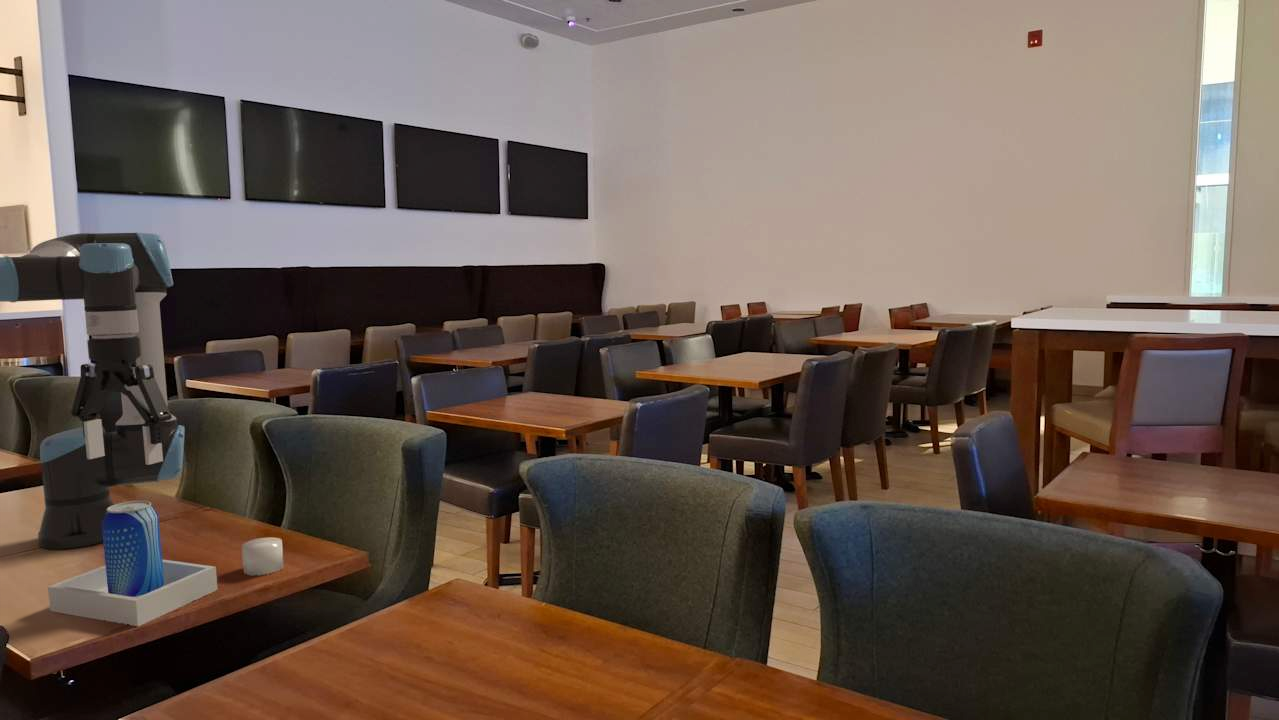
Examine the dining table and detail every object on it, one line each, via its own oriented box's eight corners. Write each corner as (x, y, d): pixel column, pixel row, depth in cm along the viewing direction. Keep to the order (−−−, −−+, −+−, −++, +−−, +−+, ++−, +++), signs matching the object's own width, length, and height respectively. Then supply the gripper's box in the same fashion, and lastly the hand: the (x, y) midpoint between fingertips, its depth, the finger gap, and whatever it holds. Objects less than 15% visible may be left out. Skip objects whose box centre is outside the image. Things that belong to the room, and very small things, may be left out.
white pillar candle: (235, 573, 162) (233, 547, 162) (263, 560, 169) (261, 535, 168) (264, 577, 160) (262, 551, 159) (291, 564, 166) (290, 539, 166)
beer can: (97, 604, 146) (88, 512, 145) (134, 585, 155) (126, 498, 153) (140, 606, 145) (132, 514, 143) (176, 587, 153) (168, 499, 151)
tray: (50, 611, 146) (47, 586, 145) (134, 577, 161) (132, 555, 160) (138, 626, 139) (135, 600, 138) (217, 590, 154) (215, 566, 153)
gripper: (39, 336, 146) (51, 460, 148) (149, 339, 137) (160, 470, 140) (81, 332, 153) (92, 450, 155) (188, 335, 144) (198, 459, 147)
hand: (124, 460), depth 147 cm, fingers open, 13 cm apart
